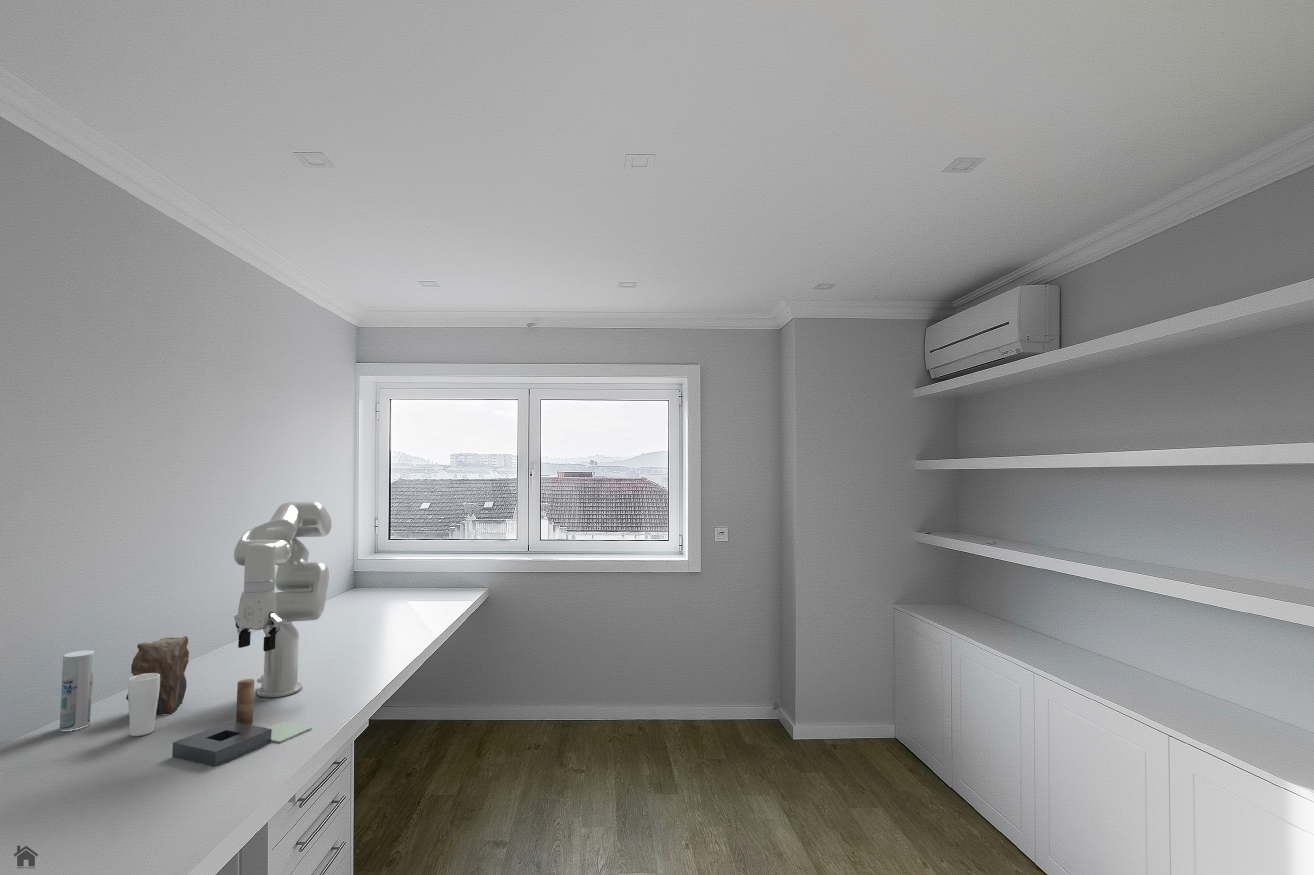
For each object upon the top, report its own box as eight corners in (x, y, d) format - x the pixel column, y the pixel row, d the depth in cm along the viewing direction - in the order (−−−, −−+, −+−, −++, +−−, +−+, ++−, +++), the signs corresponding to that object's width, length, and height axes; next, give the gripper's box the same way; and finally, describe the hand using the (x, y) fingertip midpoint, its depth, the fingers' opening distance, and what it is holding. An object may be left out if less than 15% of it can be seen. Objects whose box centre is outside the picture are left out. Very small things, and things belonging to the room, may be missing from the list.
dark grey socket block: (172, 757, 161) (172, 742, 162) (230, 734, 175) (230, 721, 176) (215, 766, 156) (215, 751, 156) (271, 742, 170) (271, 729, 170)
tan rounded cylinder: (232, 726, 181) (234, 682, 181) (245, 721, 184) (247, 678, 185) (242, 728, 179) (244, 684, 180) (255, 723, 183) (257, 680, 184)
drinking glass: (122, 740, 171) (125, 681, 172) (129, 730, 177) (132, 674, 178) (154, 735, 174) (157, 678, 175) (160, 726, 180) (162, 671, 181)
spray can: (53, 729, 177) (57, 655, 178) (81, 721, 183) (85, 649, 184) (67, 733, 175) (71, 657, 176) (95, 725, 181) (99, 651, 182)
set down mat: (249, 737, 174) (249, 735, 174) (282, 723, 183) (282, 721, 183) (279, 743, 170) (279, 741, 170) (312, 729, 179) (312, 727, 179)
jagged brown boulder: (123, 717, 187) (127, 646, 188) (149, 701, 199) (153, 635, 200) (172, 715, 189) (175, 644, 190) (195, 699, 201) (198, 634, 202)
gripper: (224, 587, 184) (221, 648, 183) (269, 591, 178) (266, 655, 177) (249, 583, 191) (246, 642, 190) (293, 587, 185) (291, 648, 184)
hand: (256, 648), depth 184 cm, fingers open, 9 cm apart
